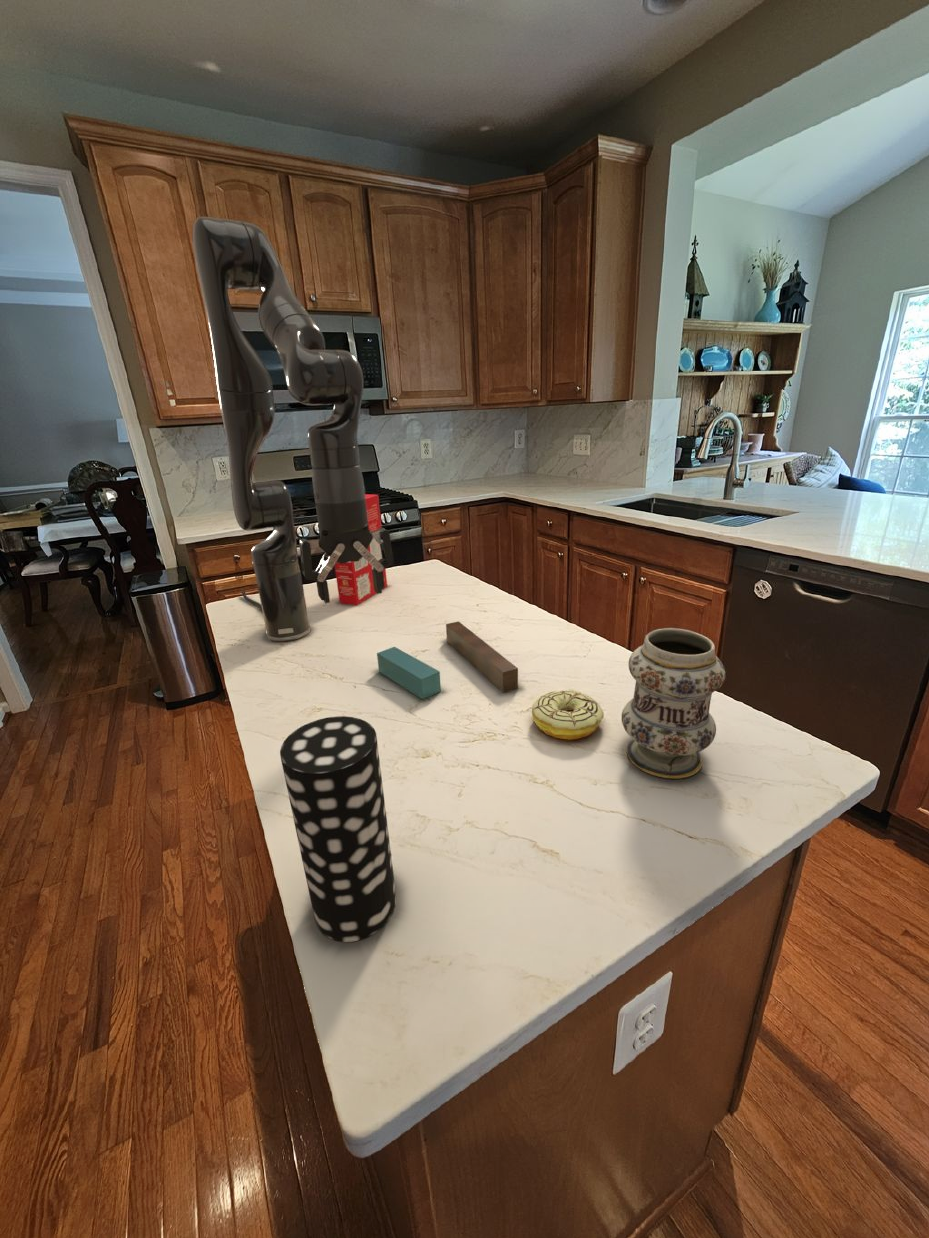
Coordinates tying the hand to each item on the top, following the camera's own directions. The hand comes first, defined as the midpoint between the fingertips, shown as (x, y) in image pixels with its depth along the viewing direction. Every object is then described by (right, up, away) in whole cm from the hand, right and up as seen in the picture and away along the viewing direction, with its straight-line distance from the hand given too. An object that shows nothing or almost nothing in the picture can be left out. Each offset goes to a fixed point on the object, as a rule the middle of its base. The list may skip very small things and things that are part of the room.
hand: (352, 596), depth 87 cm
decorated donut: (+34, -20, -4) cm, 40 cm away
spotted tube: (+7, -33, -32) cm, 47 cm away
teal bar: (+8, -15, +10) cm, 20 cm away
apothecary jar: (+46, -23, -12) cm, 53 cm away
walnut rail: (+21, -12, +16) cm, 29 cm away
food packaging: (-8, +3, +54) cm, 55 cm away
